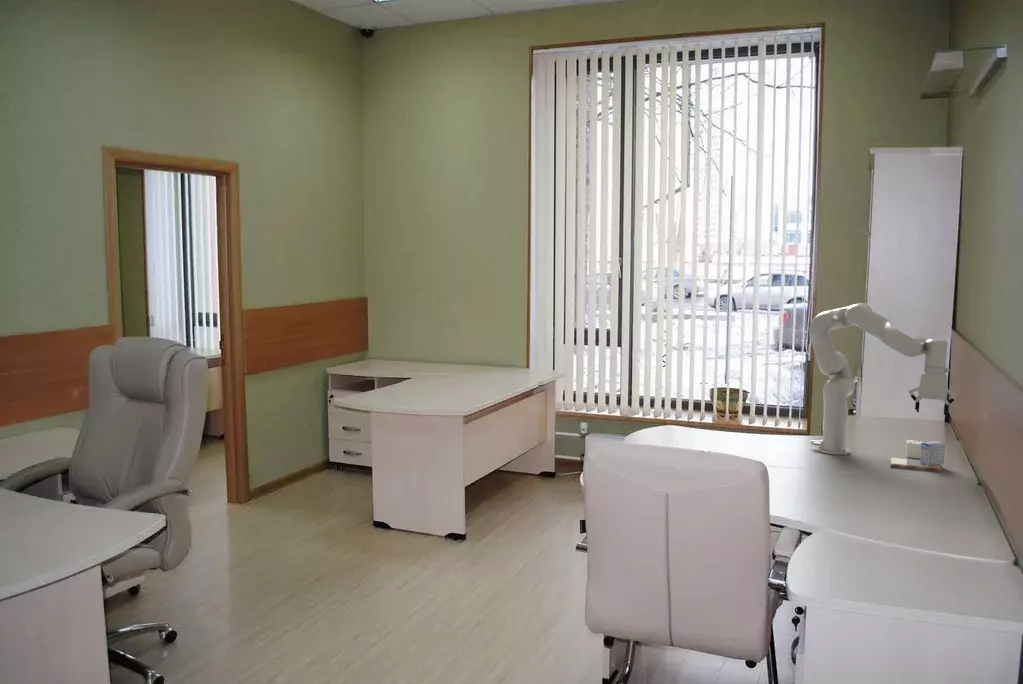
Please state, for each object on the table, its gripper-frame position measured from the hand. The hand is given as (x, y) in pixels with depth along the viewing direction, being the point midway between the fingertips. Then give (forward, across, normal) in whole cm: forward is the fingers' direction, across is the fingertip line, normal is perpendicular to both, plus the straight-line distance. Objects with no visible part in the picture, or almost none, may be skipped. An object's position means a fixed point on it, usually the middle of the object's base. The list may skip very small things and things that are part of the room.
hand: (931, 413), depth 340 cm
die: (+21, +5, -14) cm, 26 cm away
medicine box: (+20, -2, +3) cm, 20 cm away
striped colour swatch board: (+21, +4, +3) cm, 22 cm away
